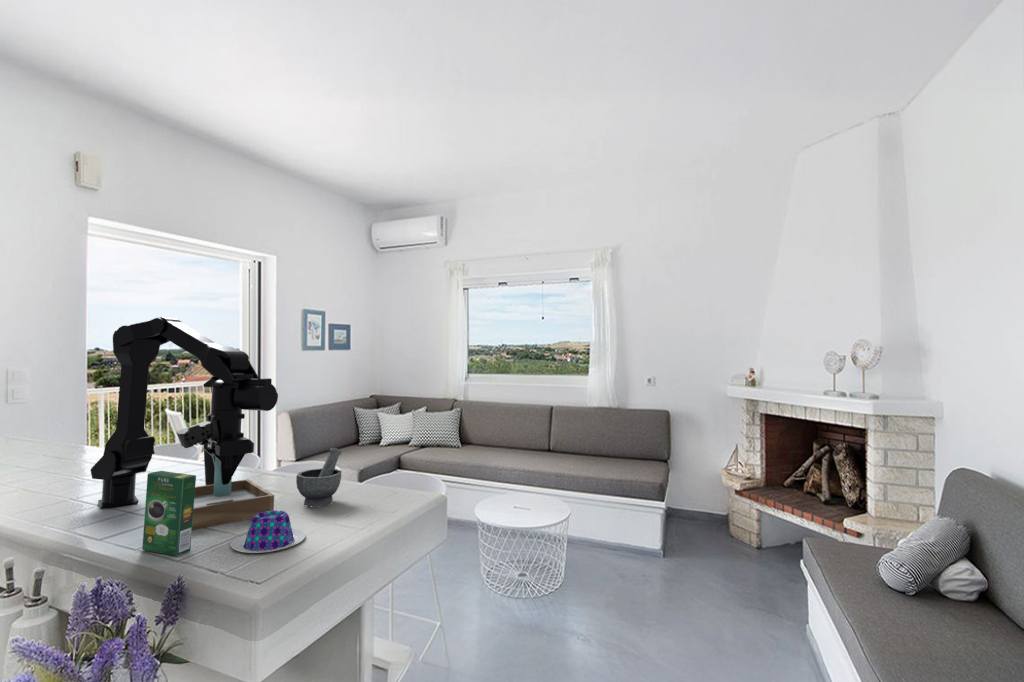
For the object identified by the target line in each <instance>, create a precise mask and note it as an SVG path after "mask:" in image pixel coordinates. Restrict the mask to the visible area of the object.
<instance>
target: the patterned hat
mask: <svg viewBox="0 0 1024 682" xmlns="http://www.w3.org/2000/svg"><path fill="white" fill-rule="evenodd" d="M293 535H295V536H297V539H298V540H297V541H296V542H295V543H293V544H292V545H289V546H288V544H289V543H292V542H293V541H294V537H293ZM305 538H306V534H305V532H304V531H302V530H301V529H295V528H292V525H291V520H290V516H289V514H288V512H286V511H285V510H276V509H275V510H273V511H265V512H261V513H259V514H256V515H255V516H254V517H253V518H251V521H250V523H249V527H248V530H247V533H246V534H244V535H241V536H239V537H237V538H235V539H234V540H233V541H232V542H231V543H230V547H231V549H233V550H234V551H237V552H241V553H248V554H258V553H259V554H262V553H270V552H275V551H280V550H284V549H287V548H290V547H293V546H296V545H297V544H299V543H301V542H302V541H304V539H305ZM291 541H292V542H291ZM286 545H287V546H286ZM285 546H286V547H285ZM259 550H260V551H259ZM257 551H258V552H257Z"/></svg>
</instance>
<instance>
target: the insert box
mask: <svg viewBox="0 0 1024 682" xmlns="http://www.w3.org/2000/svg"><path fill="white" fill-rule="evenodd" d="M213 491H214V484H211V485H206V484H205V485H198V486H195V496H194V509H193V522H192V531H193V530H198V529H199V530H200V529H203V528H209V527H215V526H220V525H223V524H229V523H233V522H234V523H235V522H239V521H245V520H250V519H251V520H252V518H253V517H254V516H255V515H256V514H259V513H261V512H265V511H273V510H274V508H275V494H273V493H272V492H270V491H268V490H266V489H265V488H263V487H262V486H260V485H258V484H257V483H255V482H253V481H252V480H250V479H249V478H247V479H242V480H241V479H239V480H233V481H232V482H231V494H230V495H228V496H222V497H215V496H213Z"/></svg>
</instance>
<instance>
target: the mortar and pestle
mask: <svg viewBox="0 0 1024 682" xmlns="http://www.w3.org/2000/svg"><path fill="white" fill-rule="evenodd" d="M341 454H342V450H341V449H339V448H336V447H331V448H330V449H329V454H328V455H327V458H326V460H325V463H324V464H323V466H322V468H312V469H307V470H303V471H299V472H298V473H297V474H296V480H295V481H296V488H297V490H298V492H299V494H300V495H301V496H302V497H304V501H303V505H304V506H305V505H306V506H305V507H307V506H308V508H310V507H309V506H312V507H311V508H319V507H318V506H321V507H326V506H325V505H327V506H329V505H332V504H333V502H332V501H333V499H334V498H333V496H334V495H335V494H336V492H337V491H338V489H339V487H340V485H341V481H342V470H340V469H337V468H336V466H337V462H338V460H339V456H341ZM331 503H332V504H331ZM328 504H329V505H328Z"/></svg>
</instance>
